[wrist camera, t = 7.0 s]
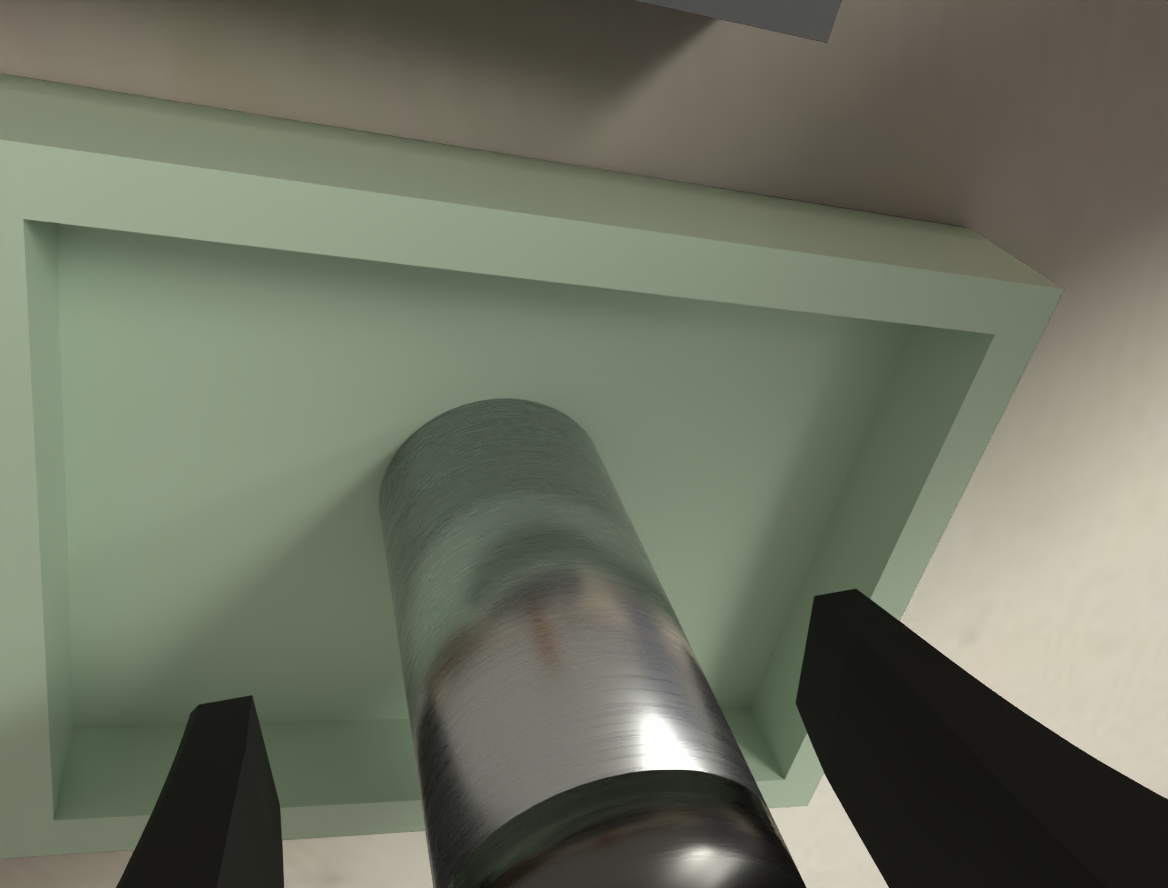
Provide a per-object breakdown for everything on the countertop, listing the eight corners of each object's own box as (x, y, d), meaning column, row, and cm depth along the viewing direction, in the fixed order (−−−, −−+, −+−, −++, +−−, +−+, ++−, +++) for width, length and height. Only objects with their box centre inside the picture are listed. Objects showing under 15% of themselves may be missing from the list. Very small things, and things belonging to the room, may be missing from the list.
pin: (597, 378, 15) (831, 817, 9) (608, 558, 17) (805, 1022, 11) (359, 422, 15) (425, 930, 8) (399, 603, 17) (478, 1123, 10)
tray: (970, 228, 16) (1064, 289, 14) (760, 713, 22) (807, 805, 20) (-16, 70, 12) (-74, 128, 10) (27, 736, 17) (-4, 858, 15)
